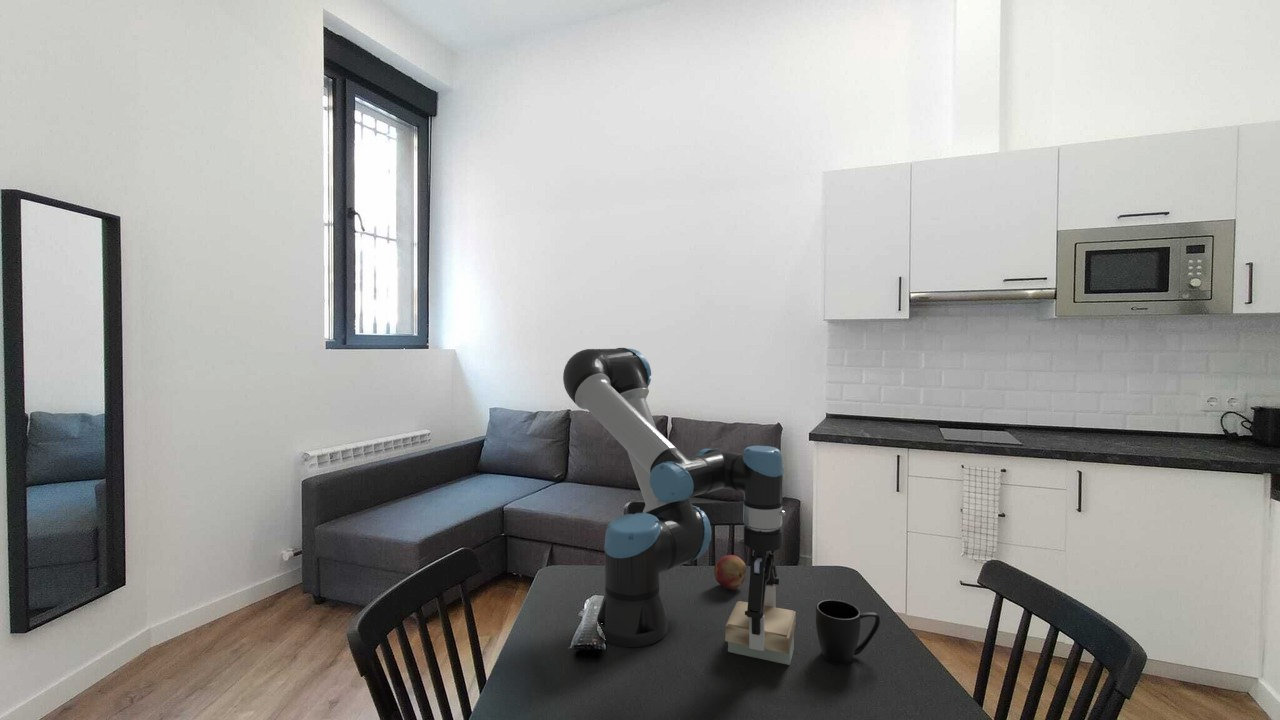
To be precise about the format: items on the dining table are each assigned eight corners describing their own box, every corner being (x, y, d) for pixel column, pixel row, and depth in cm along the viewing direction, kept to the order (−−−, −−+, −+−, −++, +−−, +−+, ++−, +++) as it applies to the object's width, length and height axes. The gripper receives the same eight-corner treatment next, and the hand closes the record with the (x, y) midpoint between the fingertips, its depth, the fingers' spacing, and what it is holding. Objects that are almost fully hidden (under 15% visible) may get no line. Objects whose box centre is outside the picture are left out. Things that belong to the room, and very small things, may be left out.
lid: (725, 640, 111) (725, 624, 111) (737, 614, 121) (737, 599, 121) (788, 654, 106) (788, 636, 106) (795, 625, 117) (795, 610, 116)
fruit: (724, 597, 136) (724, 564, 136) (708, 584, 144) (708, 553, 143) (751, 591, 139) (752, 559, 139) (734, 579, 147) (735, 548, 146)
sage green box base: (727, 651, 113) (728, 634, 113) (734, 636, 119) (734, 620, 119) (789, 665, 109) (790, 647, 109) (793, 648, 114) (794, 631, 114)
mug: (885, 671, 107) (887, 621, 107) (820, 667, 108) (821, 618, 108) (872, 647, 115) (873, 601, 115) (811, 644, 116) (812, 598, 116)
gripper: (772, 550, 100) (772, 669, 100) (790, 509, 123) (790, 607, 124) (730, 544, 102) (730, 660, 103) (755, 506, 126) (755, 601, 126)
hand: (763, 631), depth 113 cm, fingers open, 13 cm apart
